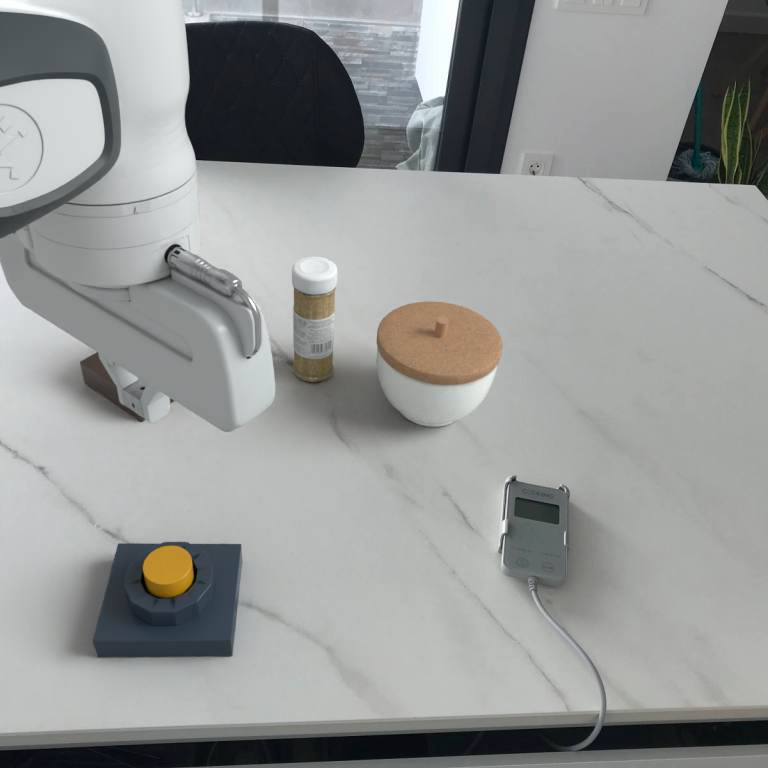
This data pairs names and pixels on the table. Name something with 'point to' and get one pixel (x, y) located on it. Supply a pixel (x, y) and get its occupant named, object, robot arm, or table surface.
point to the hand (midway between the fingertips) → (145, 409)
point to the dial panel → (103, 382)
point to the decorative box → (436, 361)
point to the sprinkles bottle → (313, 317)
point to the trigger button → (168, 571)
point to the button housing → (170, 605)
